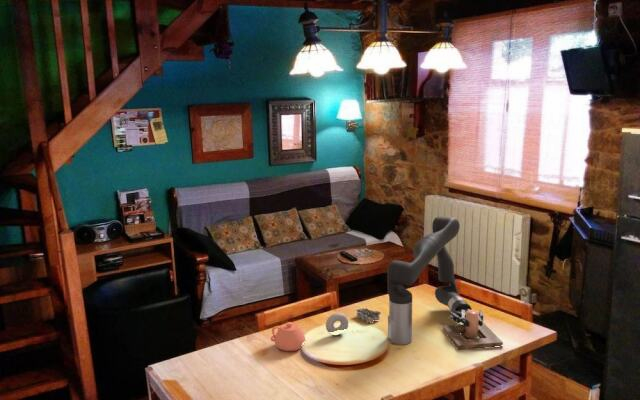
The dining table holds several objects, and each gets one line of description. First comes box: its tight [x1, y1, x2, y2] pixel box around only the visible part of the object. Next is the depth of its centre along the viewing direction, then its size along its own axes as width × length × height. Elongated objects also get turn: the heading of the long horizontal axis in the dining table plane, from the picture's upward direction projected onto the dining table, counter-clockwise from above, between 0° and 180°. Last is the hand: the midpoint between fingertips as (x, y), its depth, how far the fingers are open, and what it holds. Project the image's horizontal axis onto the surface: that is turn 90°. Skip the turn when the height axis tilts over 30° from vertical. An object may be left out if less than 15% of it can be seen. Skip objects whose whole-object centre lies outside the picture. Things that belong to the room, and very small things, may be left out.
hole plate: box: [442, 322, 504, 351], centre depth 214 cm, size 18×18×2 cm
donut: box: [325, 312, 349, 333], centre depth 219 cm, size 10×4×10 cm, turn 109°
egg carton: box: [355, 307, 381, 324], centre depth 236 cm, size 11×8×4 cm
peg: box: [464, 309, 479, 339], centre depth 213 cm, size 5×5×10 cm
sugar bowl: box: [270, 321, 306, 352], centre depth 210 cm, size 12×14×10 cm
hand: (474, 324), depth 210 cm, fingers closed on peg, 5 cm apart
